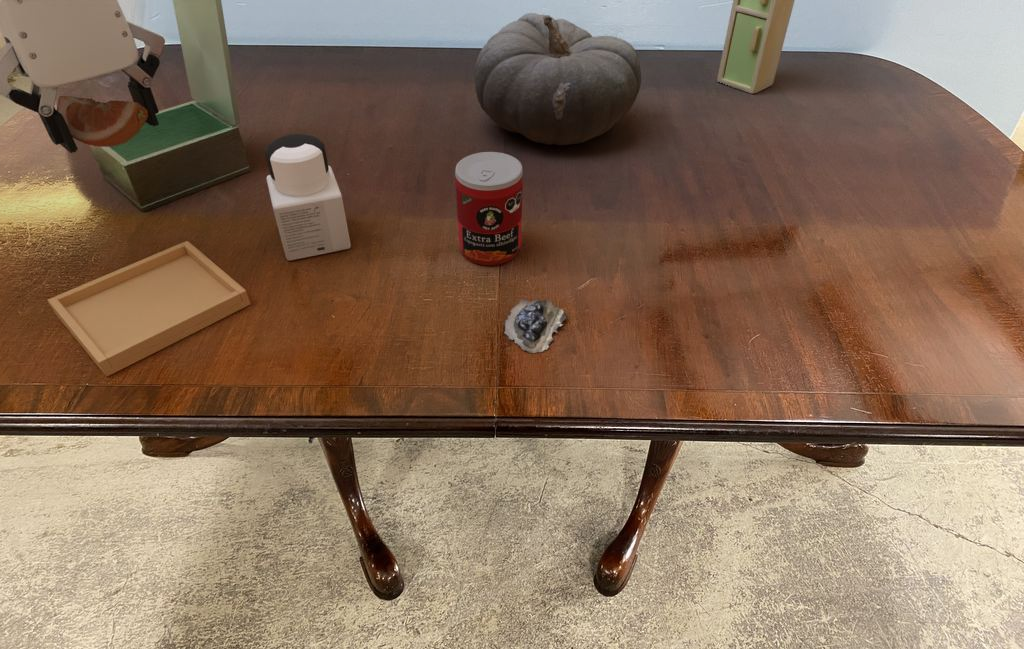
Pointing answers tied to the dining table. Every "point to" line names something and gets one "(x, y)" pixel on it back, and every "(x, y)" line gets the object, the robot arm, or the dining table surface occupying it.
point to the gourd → (556, 80)
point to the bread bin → (174, 156)
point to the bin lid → (207, 55)
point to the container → (305, 197)
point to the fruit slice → (102, 120)
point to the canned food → (489, 207)
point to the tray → (148, 306)
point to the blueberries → (533, 324)
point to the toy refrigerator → (754, 43)
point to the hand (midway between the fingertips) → (110, 133)
